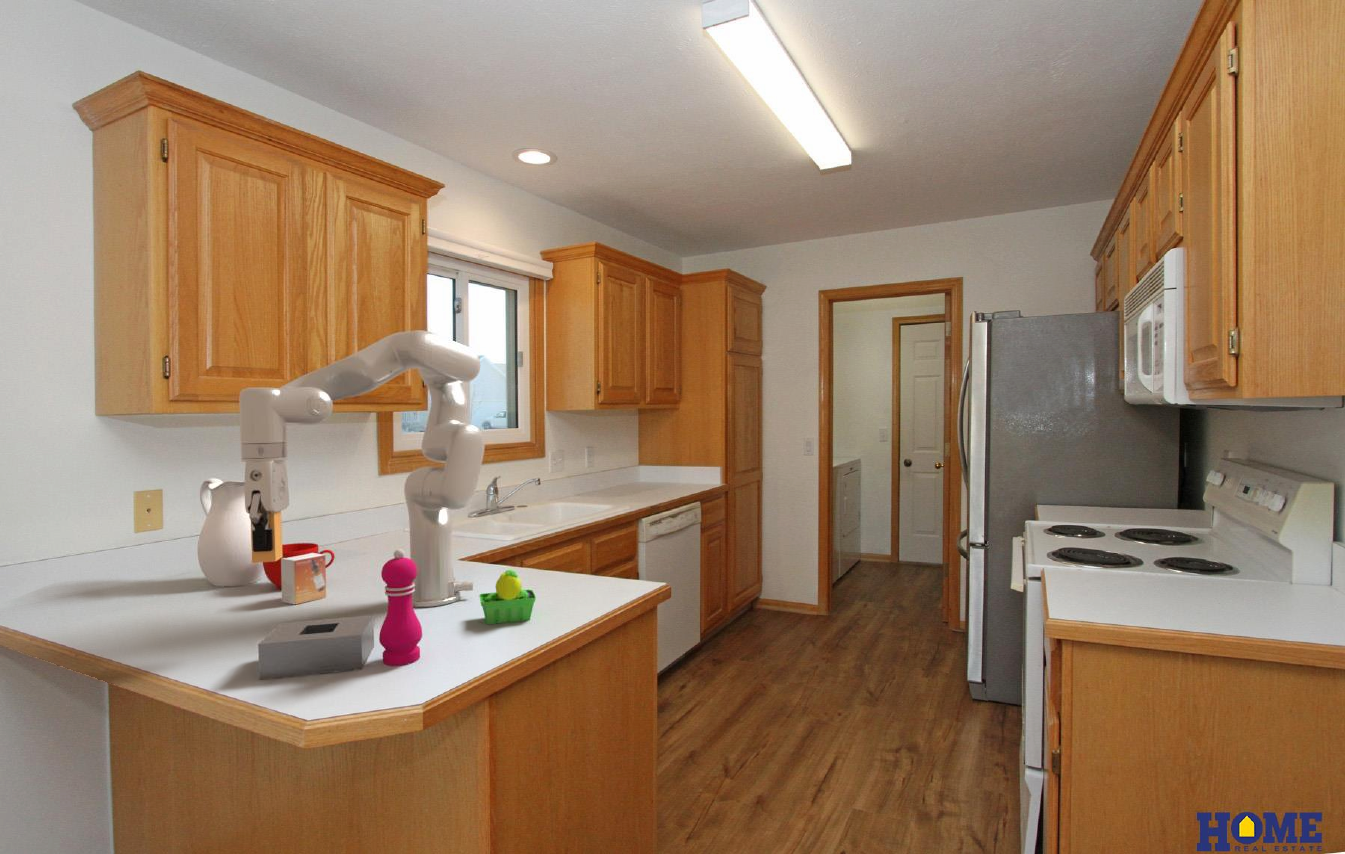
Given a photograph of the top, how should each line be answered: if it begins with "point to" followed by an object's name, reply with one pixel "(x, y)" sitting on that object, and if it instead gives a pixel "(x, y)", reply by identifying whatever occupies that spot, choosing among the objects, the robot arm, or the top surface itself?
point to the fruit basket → (507, 600)
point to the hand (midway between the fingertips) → (267, 547)
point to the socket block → (316, 647)
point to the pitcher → (226, 535)
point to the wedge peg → (277, 541)
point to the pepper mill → (400, 612)
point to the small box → (303, 578)
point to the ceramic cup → (289, 551)
